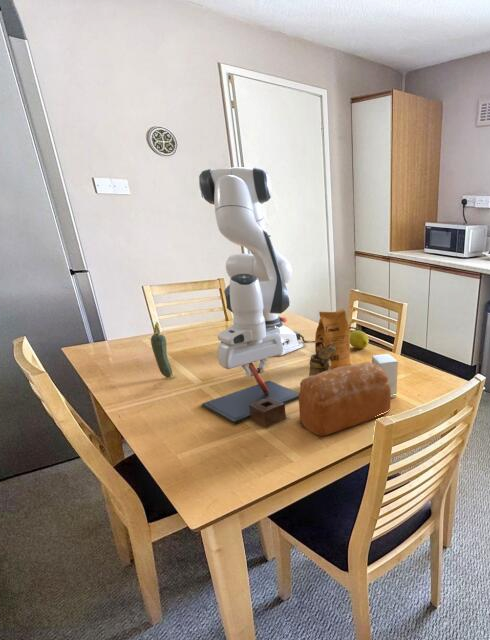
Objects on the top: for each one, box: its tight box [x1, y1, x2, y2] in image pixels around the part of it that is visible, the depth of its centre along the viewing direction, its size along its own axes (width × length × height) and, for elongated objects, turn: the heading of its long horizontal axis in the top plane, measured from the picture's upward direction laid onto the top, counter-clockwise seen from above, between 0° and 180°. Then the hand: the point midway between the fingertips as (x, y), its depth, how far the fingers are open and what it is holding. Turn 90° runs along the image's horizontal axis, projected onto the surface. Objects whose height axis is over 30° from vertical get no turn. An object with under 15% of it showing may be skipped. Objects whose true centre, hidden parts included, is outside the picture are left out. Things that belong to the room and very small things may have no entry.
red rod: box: [248, 362, 269, 394], centre depth 128 cm, size 2×2×14 cm
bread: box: [298, 361, 391, 437], centre depth 120 cm, size 14×26×16 cm, turn 133°
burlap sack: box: [308, 345, 336, 377], centre depth 137 cm, size 9×14×18 cm, turn 35°
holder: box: [249, 397, 287, 429], centre depth 118 cm, size 7×7×5 cm
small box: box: [371, 353, 399, 399], centre depth 137 cm, size 8×6×13 cm
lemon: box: [349, 330, 370, 350], centre depth 180 cm, size 11×8×8 cm
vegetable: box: [150, 321, 174, 379], centre depth 137 cm, size 4×4×20 cm
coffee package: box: [314, 308, 351, 370], centre depth 157 cm, size 10×12×22 cm
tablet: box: [201, 380, 299, 425], centre depth 129 cm, size 24×17×1 cm
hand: (255, 374), depth 126 cm, fingers closed on red rod, 2 cm apart
